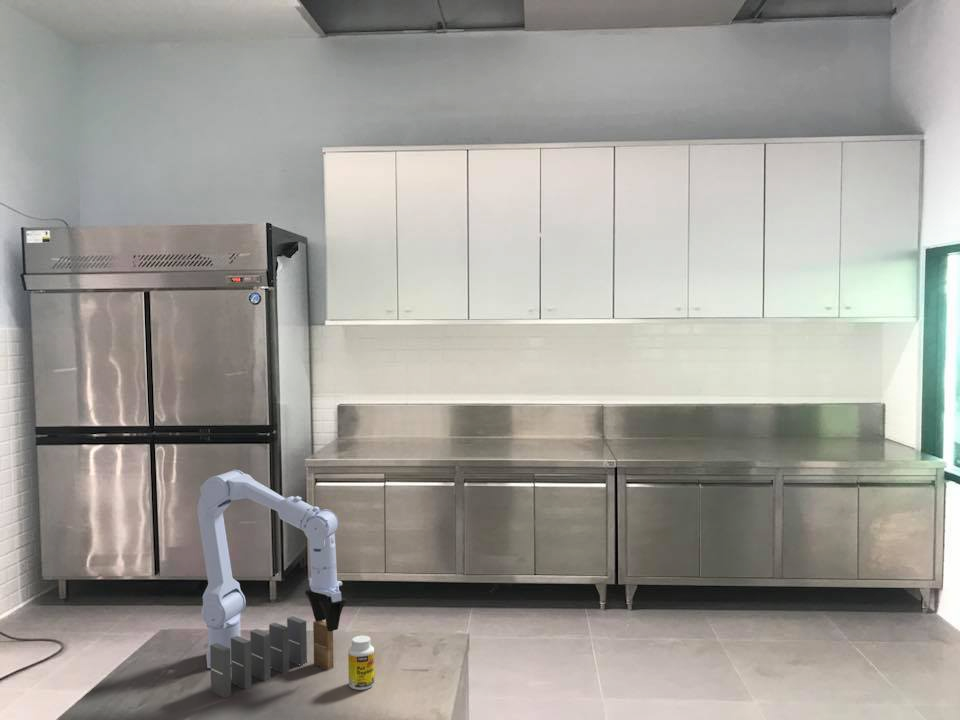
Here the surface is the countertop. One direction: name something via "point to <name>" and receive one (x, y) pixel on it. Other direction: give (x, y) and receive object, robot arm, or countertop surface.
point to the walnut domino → (323, 645)
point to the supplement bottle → (361, 663)
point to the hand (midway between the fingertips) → (326, 625)
